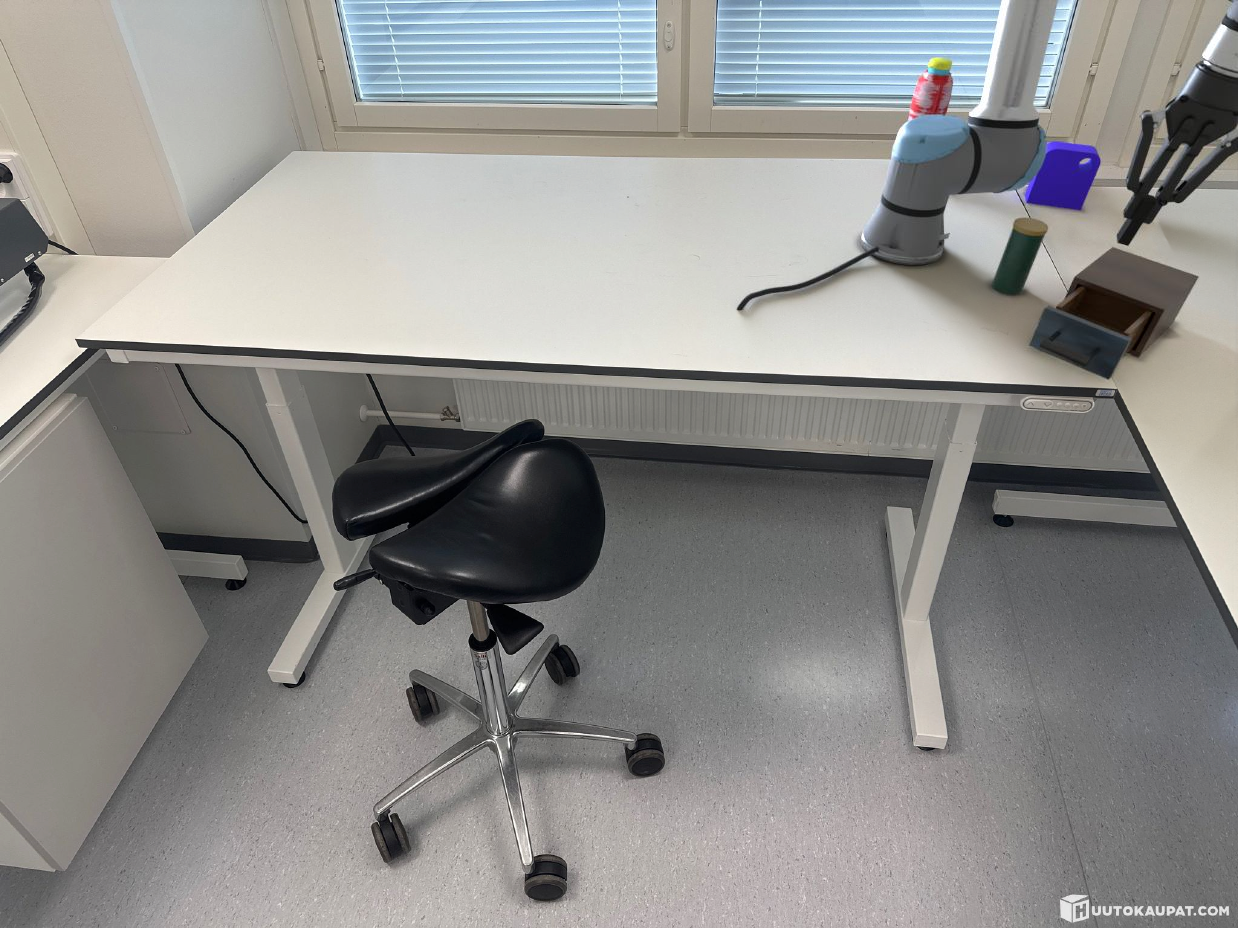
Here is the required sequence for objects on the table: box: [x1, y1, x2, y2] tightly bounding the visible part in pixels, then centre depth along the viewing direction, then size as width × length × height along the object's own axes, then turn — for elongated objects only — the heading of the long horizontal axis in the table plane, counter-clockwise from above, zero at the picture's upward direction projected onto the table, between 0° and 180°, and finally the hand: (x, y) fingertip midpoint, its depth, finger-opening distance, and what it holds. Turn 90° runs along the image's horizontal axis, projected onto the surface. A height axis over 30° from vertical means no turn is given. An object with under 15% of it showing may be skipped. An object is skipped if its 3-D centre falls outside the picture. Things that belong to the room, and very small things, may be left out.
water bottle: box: [907, 57, 954, 122], centre depth 173 cm, size 12×8×25 cm, turn 176°
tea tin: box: [991, 217, 1049, 296], centre depth 140 cm, size 6×6×12 cm
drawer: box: [1028, 285, 1155, 381], centre depth 124 cm, size 20×13×7 cm, turn 134°
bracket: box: [1024, 140, 1102, 211], centre depth 173 cm, size 18×11×12 cm, turn 163°
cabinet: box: [1064, 246, 1200, 359], centre depth 132 cm, size 16×14×9 cm
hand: (1122, 240), depth 115 cm, fingers closed
